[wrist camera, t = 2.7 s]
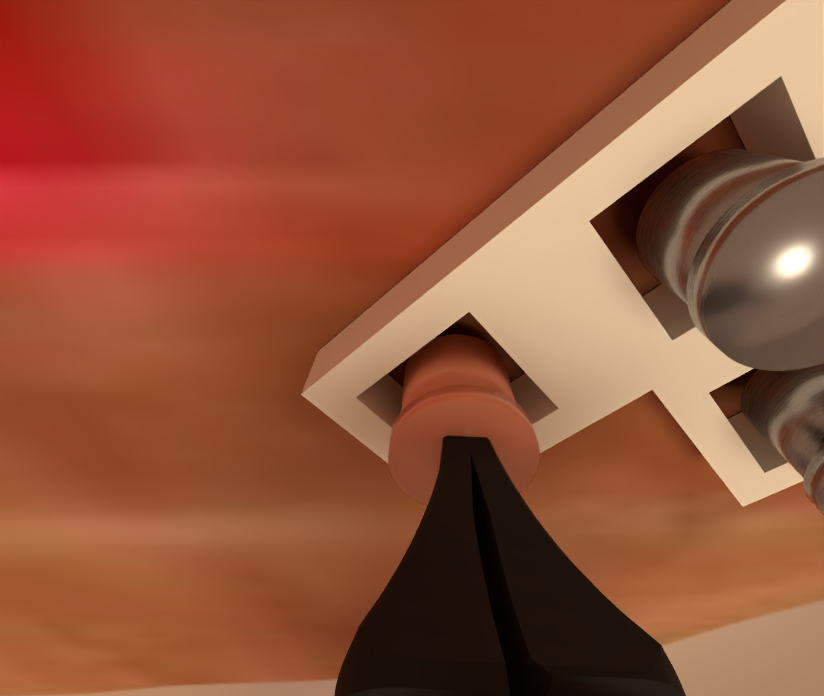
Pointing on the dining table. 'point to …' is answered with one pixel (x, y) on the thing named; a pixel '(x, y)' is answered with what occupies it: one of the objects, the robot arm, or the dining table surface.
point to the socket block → (601, 258)
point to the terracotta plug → (458, 413)
